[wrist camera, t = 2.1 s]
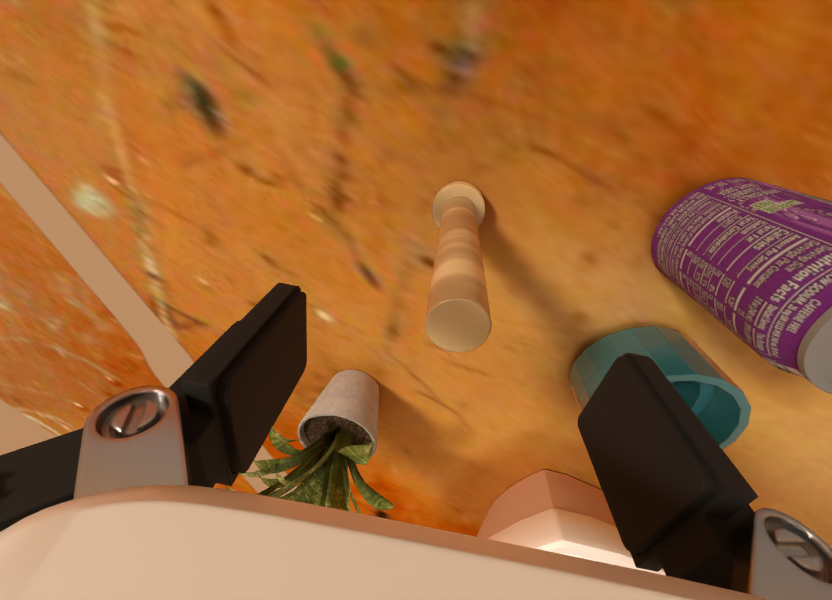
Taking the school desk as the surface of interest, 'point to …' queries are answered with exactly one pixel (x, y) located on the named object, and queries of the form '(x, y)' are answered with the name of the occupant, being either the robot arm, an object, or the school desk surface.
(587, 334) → the school desk surface
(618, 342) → the mixing bowl
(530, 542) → the bowl
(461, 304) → the muddler
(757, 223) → the beverage can
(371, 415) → the house plant
